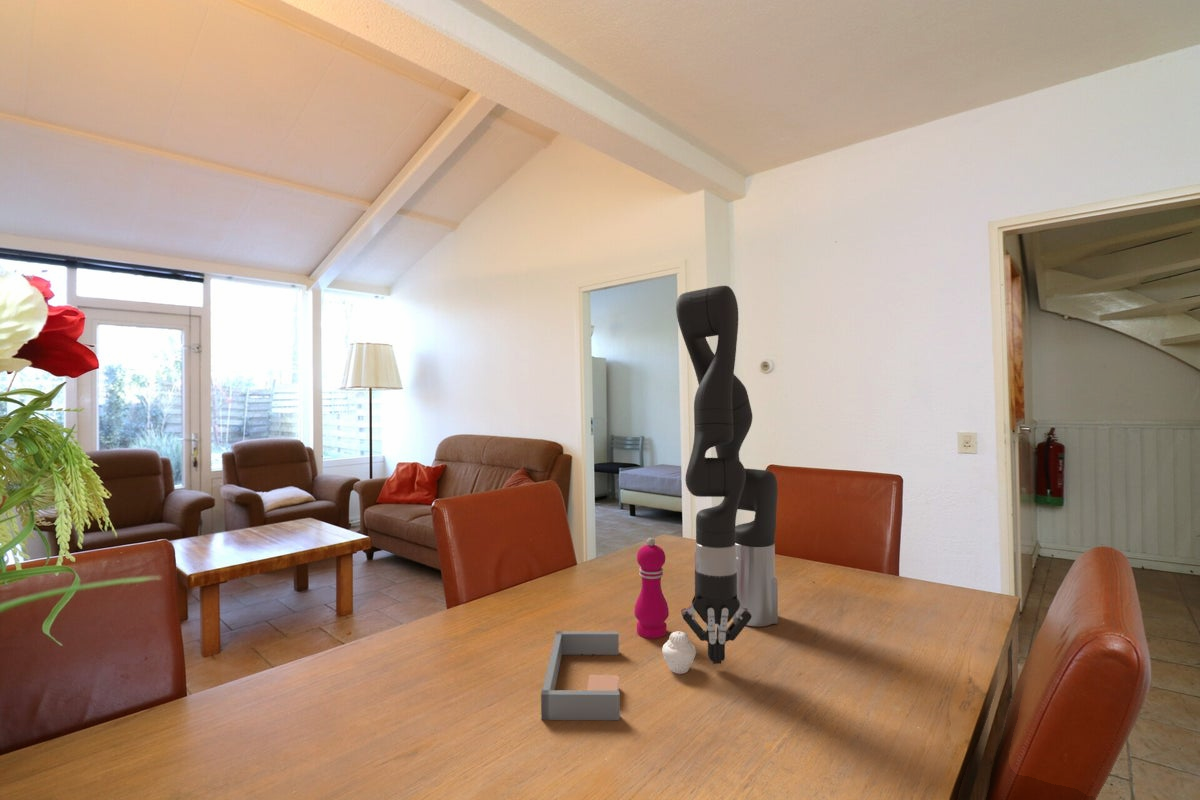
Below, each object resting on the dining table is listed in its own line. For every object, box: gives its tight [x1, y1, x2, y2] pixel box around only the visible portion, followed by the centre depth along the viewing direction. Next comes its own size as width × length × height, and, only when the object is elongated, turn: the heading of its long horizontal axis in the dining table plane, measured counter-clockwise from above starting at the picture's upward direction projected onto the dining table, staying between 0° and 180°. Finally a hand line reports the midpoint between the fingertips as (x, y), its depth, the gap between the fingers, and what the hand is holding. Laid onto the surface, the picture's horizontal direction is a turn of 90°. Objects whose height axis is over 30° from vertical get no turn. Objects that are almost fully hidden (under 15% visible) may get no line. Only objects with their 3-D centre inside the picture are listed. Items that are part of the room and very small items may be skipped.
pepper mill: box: [633, 537, 670, 639], centre depth 117 cm, size 7×7×20 cm
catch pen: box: [540, 630, 621, 721], centre depth 98 cm, size 12×22×4 cm, turn 178°
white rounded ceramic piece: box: [661, 630, 697, 675], centre depth 102 cm, size 6×6×7 cm
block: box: [586, 674, 620, 692], centre depth 94 cm, size 5×5×2 cm
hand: (716, 661), depth 102 cm, fingers closed
